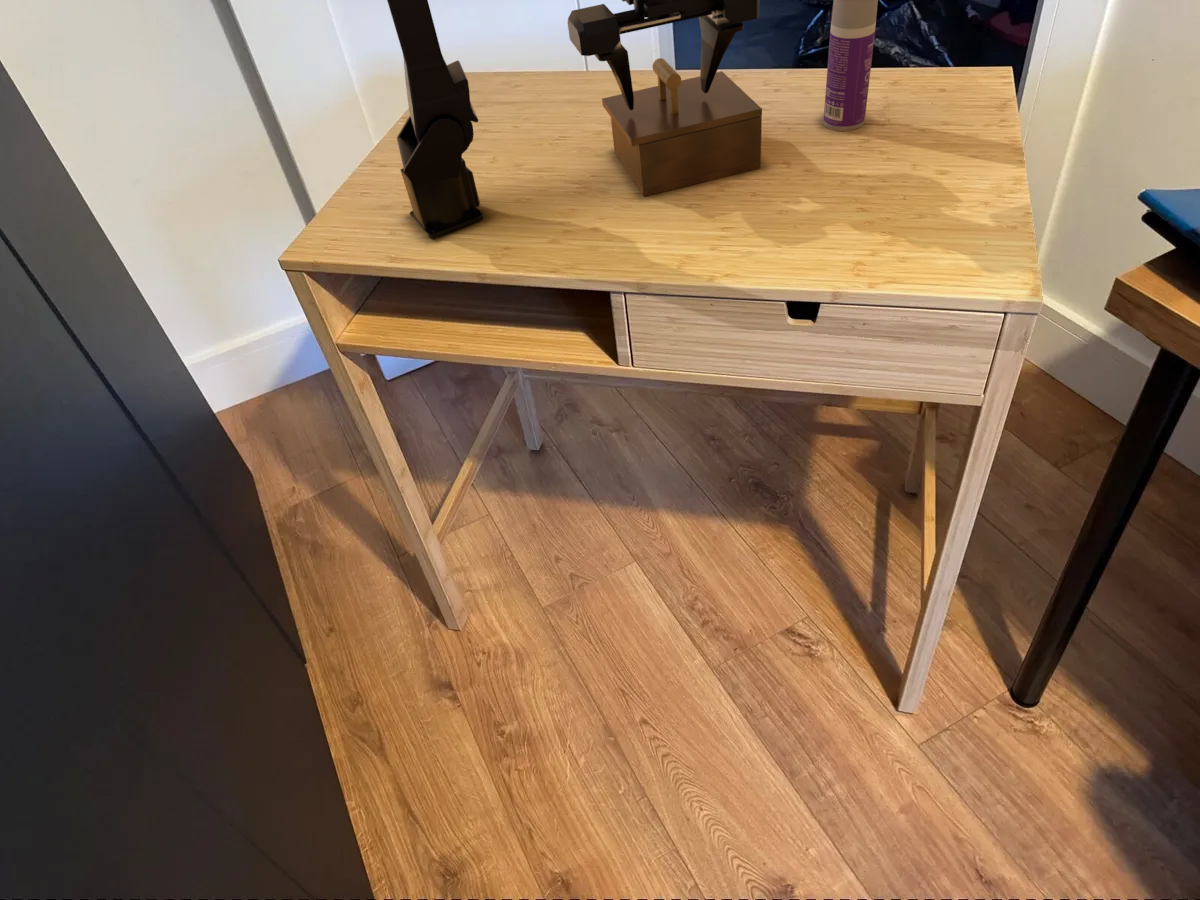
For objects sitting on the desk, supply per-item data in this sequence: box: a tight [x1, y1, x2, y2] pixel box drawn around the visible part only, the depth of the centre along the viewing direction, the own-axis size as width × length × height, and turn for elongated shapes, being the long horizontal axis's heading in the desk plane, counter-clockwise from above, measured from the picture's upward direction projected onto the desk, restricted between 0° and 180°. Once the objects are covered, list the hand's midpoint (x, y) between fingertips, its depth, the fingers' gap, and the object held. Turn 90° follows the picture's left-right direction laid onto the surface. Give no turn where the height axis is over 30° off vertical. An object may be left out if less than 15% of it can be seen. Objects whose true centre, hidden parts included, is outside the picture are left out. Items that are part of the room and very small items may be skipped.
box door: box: [601, 57, 763, 146], centre depth 88 cm, size 14×12×5 cm
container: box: [822, 0, 879, 132], centre depth 91 cm, size 5×5×15 cm
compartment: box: [610, 115, 763, 197], centre depth 92 cm, size 14×12×6 cm
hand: (667, 100), depth 88 cm, fingers open, 8 cm apart
